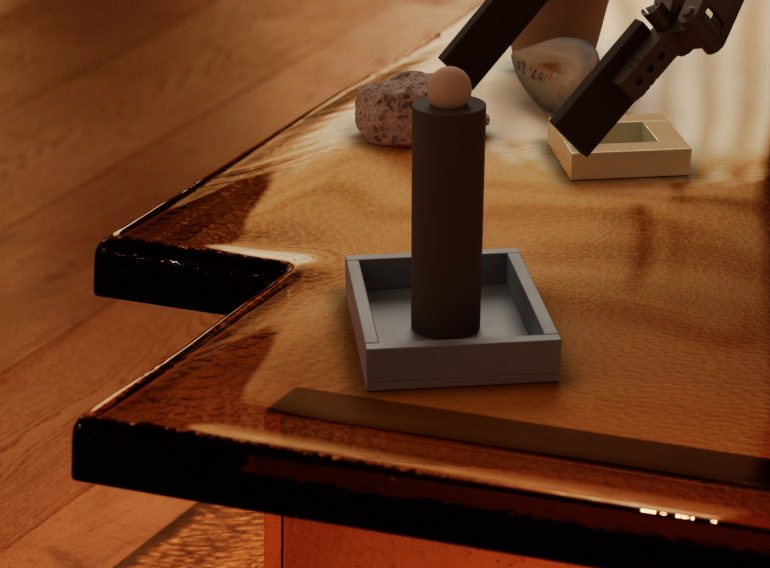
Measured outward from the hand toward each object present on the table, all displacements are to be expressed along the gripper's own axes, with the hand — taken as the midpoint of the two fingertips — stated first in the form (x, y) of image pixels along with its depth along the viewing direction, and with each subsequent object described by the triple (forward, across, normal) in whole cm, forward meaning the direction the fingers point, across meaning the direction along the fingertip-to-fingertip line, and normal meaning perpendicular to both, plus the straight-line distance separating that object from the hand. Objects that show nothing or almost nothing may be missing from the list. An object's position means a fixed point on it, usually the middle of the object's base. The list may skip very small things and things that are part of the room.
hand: (507, 105), depth 86 cm
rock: (+2, +38, -17) cm, 41 cm away
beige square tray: (-6, +25, -25) cm, 36 cm away
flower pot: (-11, +49, -30) cm, 58 cm away
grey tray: (+12, +1, -7) cm, 14 cm away
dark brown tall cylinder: (+11, +1, -7) cm, 13 cm away
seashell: (-8, +39, -26) cm, 48 cm away
